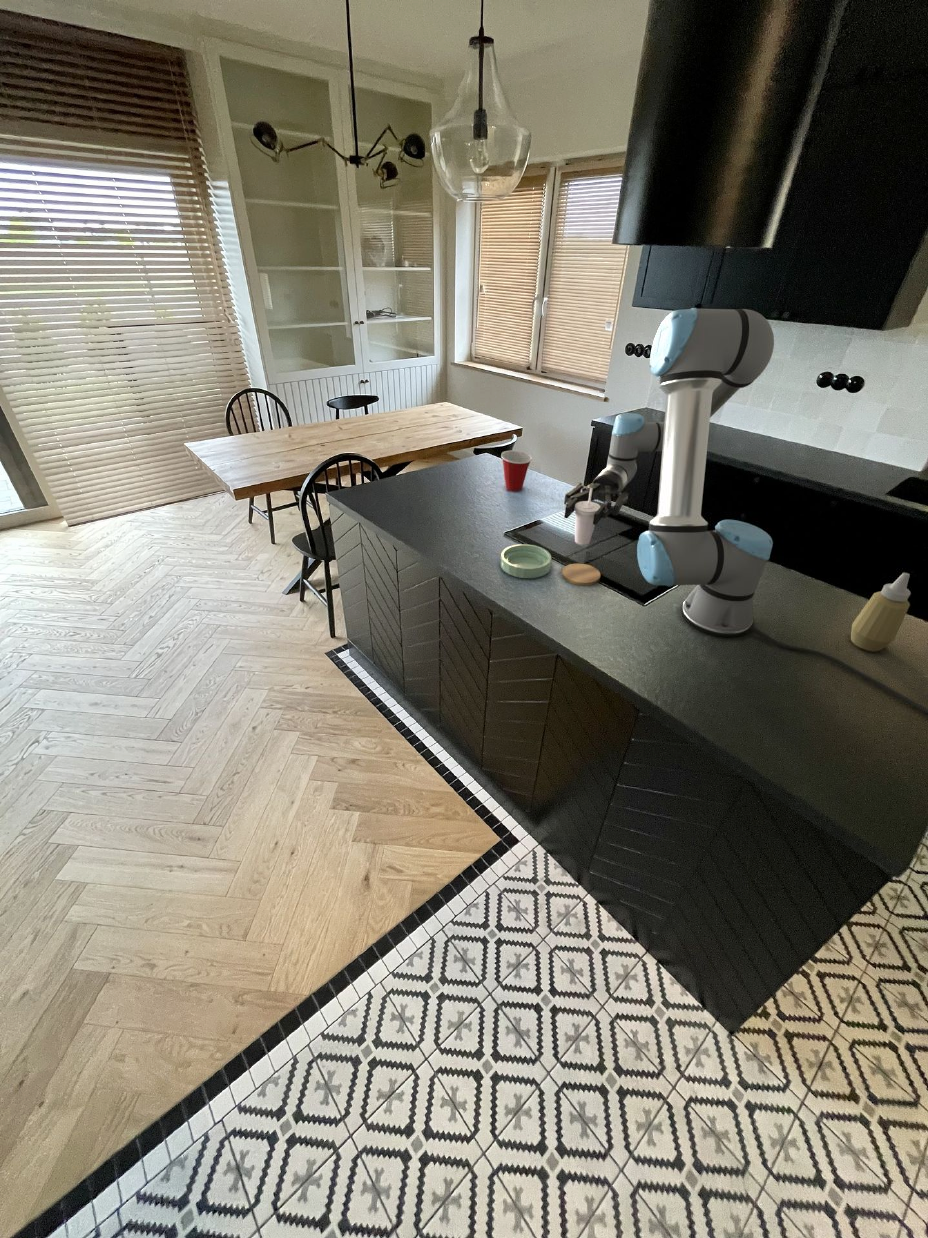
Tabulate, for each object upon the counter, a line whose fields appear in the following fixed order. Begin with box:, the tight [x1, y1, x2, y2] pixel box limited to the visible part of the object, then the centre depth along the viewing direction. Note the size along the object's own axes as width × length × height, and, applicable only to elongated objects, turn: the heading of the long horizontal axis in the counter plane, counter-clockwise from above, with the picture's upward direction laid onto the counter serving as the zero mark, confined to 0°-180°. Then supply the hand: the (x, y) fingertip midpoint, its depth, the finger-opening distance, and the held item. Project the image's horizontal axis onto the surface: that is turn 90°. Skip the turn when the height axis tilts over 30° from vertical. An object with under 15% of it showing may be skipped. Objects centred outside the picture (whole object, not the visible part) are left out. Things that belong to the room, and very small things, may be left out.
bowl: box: [500, 543, 553, 579], centre depth 143 cm, size 13×13×3 cm
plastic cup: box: [500, 449, 533, 492], centre depth 185 cm, size 11×11×12 cm
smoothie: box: [574, 488, 602, 546], centre depth 131 cm, size 6×6×14 cm
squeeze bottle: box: [850, 572, 912, 652], centre depth 112 cm, size 8×8×18 cm
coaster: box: [561, 563, 601, 586], centre depth 140 cm, size 10×10×1 cm
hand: (580, 516), depth 126 cm, fingers closed on smoothie, 6 cm apart
